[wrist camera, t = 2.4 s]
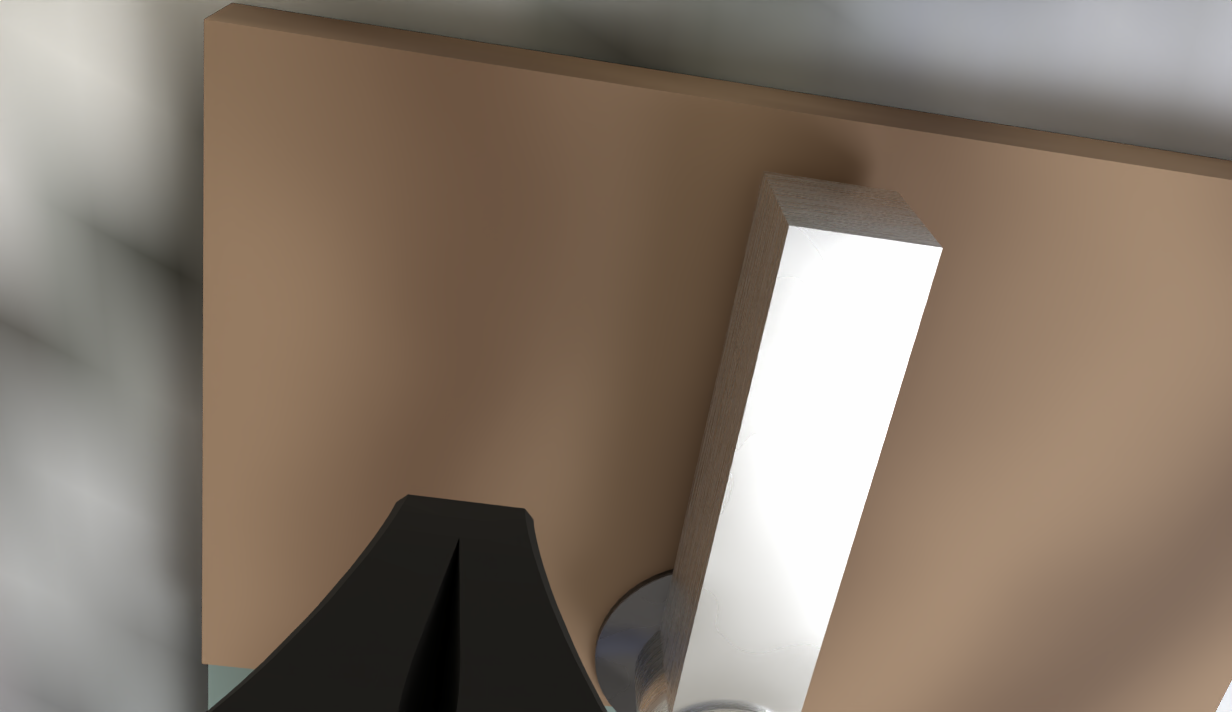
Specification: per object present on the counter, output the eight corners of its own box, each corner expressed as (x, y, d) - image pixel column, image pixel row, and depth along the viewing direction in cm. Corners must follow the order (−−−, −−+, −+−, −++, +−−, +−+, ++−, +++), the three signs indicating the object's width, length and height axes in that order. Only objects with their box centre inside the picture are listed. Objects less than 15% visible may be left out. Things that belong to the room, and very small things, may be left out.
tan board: (218, 971, 26) (200, 1029, 25) (231, 2, 17) (204, 19, 16) (1000, 1034, 28) (1020, 1091, 27) (1409, 189, 19) (1469, 217, 17)
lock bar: (762, 733, 21) (783, 845, 19) (623, 719, 21) (628, 829, 19) (917, 194, 17) (970, 256, 14) (742, 167, 16) (768, 227, 14)
